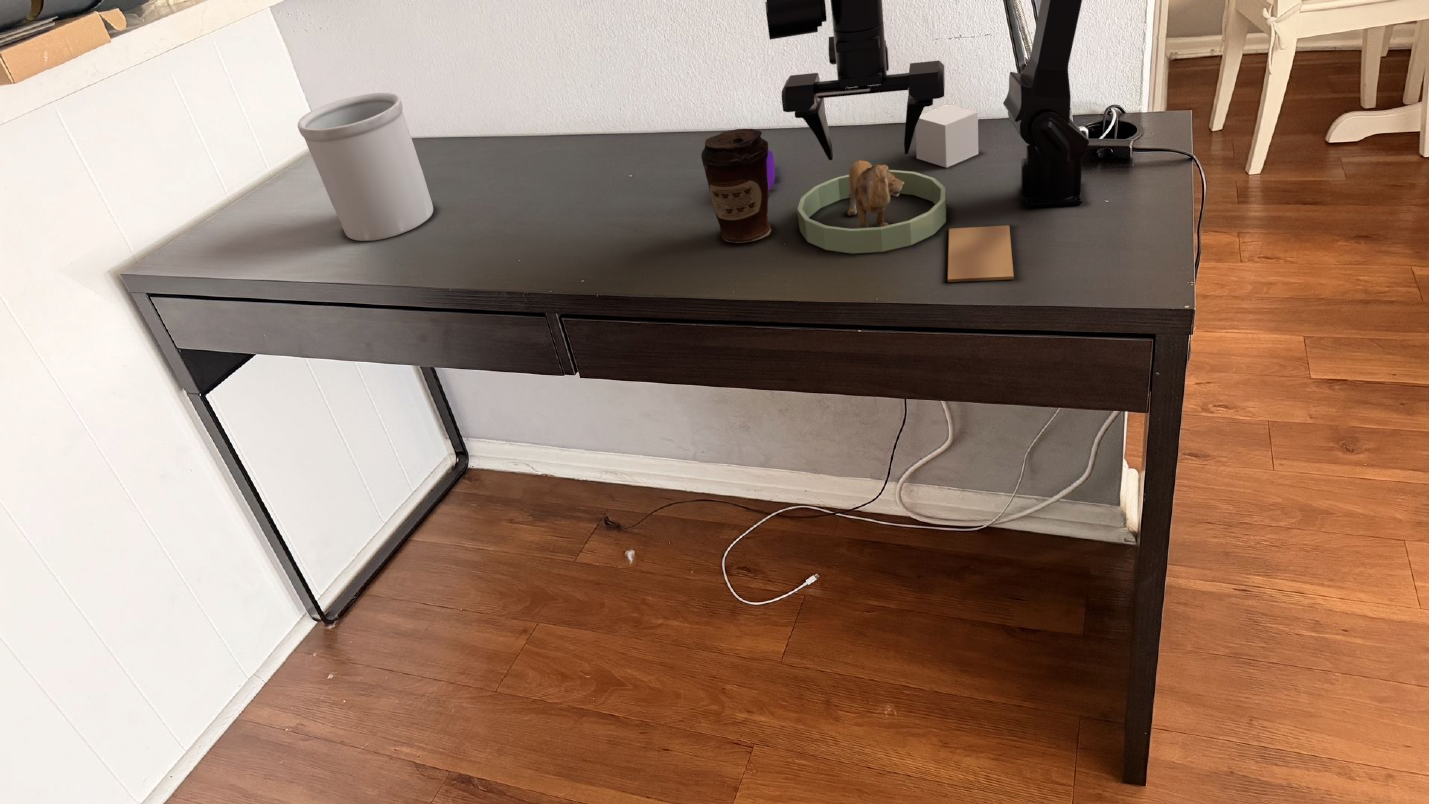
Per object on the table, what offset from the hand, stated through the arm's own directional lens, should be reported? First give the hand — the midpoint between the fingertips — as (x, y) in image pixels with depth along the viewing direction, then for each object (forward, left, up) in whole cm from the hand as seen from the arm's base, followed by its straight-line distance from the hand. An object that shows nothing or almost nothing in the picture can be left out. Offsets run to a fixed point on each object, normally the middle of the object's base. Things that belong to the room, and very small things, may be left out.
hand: (868, 156), depth 125 cm
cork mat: (-13, +11, -9) cm, 19 cm away
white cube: (-9, -20, -9) cm, 24 cm away
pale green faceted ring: (0, 0, -9) cm, 9 cm away
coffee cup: (+16, +2, -9) cm, 18 cm away
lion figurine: (0, 0, -9) cm, 9 cm away
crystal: (+17, -15, -9) cm, 24 cm away
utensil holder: (+74, -10, -9) cm, 75 cm away
